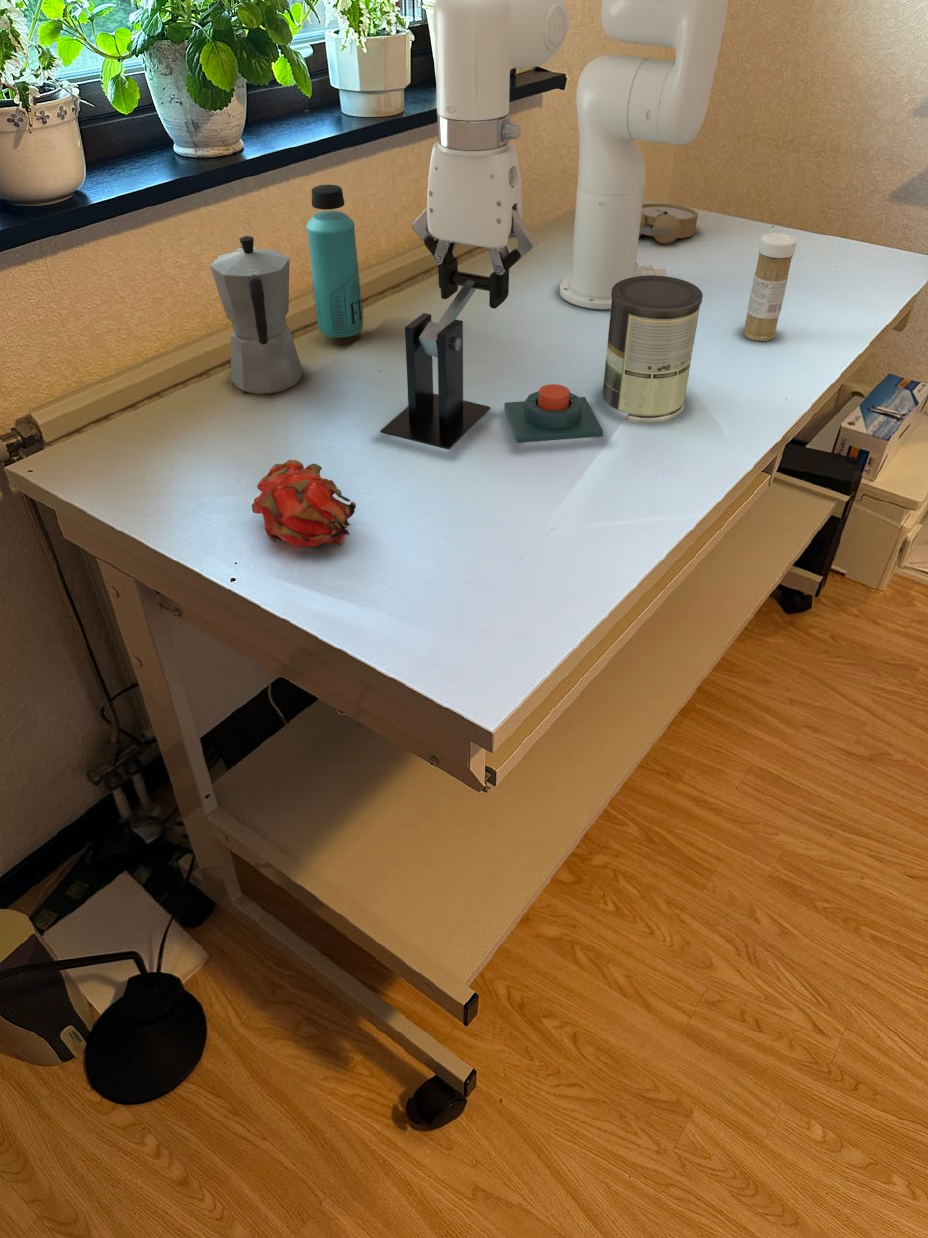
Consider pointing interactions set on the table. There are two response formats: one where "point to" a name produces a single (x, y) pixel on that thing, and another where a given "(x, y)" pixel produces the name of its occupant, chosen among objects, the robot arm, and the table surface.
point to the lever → (452, 308)
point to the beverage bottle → (334, 265)
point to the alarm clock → (667, 222)
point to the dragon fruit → (302, 506)
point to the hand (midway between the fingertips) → (473, 297)
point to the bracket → (428, 412)
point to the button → (553, 397)
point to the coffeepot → (258, 318)
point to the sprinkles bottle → (769, 286)
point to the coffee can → (650, 346)
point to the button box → (552, 420)
